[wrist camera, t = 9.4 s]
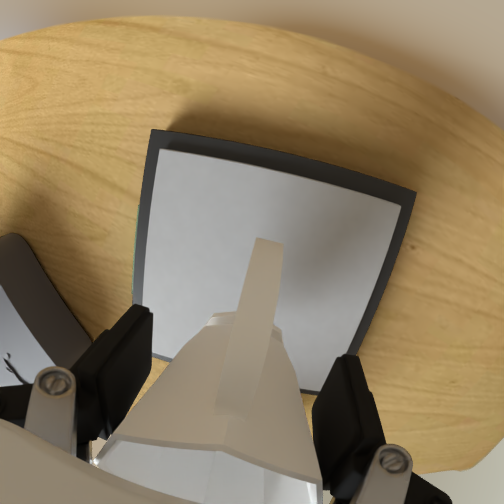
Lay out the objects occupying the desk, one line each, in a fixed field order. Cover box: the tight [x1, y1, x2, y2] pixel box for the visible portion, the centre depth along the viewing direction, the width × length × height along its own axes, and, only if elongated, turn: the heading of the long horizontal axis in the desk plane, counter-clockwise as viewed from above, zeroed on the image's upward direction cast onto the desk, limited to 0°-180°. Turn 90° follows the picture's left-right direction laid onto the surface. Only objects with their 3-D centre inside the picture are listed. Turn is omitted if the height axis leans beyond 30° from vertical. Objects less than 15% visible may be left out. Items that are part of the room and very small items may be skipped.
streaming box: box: [0, 233, 92, 387], centre depth 21 cm, size 14×14×5 cm
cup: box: [93, 237, 323, 504], centre depth 9 cm, size 7×10×8 cm
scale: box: [132, 129, 417, 395], centre depth 18 cm, size 15×15×3 cm
